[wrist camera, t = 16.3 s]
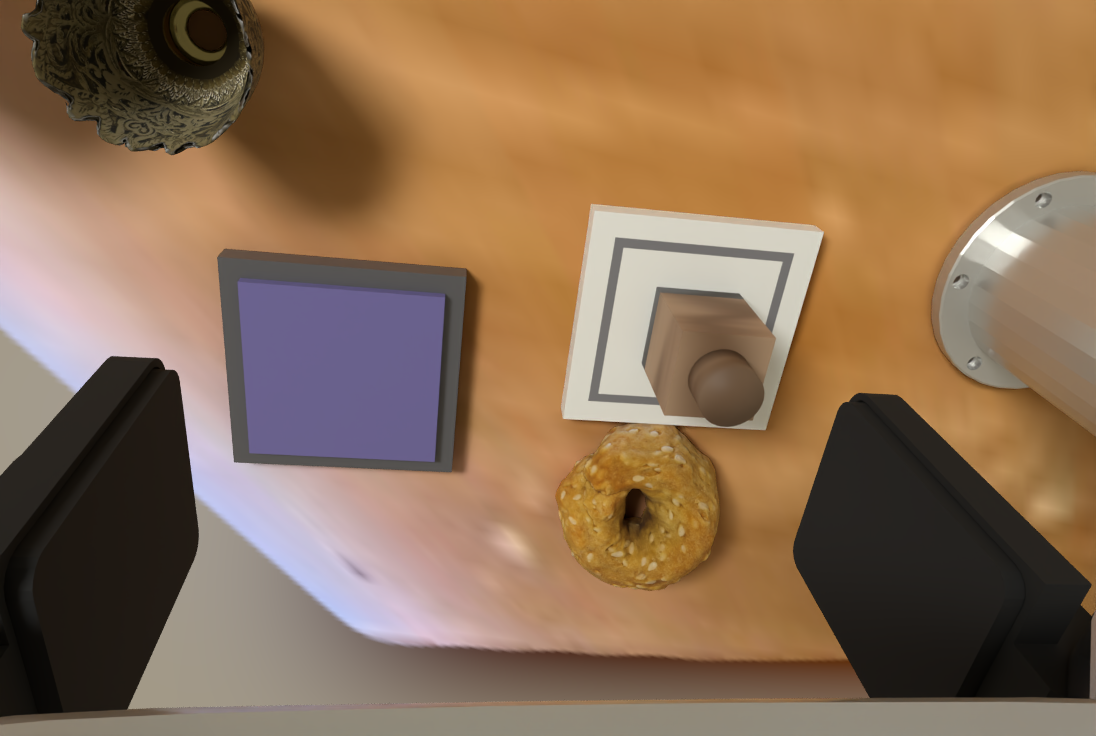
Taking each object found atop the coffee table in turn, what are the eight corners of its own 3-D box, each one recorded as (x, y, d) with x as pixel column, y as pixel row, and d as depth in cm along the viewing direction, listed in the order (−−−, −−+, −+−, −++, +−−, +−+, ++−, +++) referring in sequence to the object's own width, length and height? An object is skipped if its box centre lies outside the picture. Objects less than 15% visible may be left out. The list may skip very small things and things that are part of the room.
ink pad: (466, 268, 39) (466, 280, 38) (451, 460, 45) (451, 477, 43) (224, 248, 38) (214, 260, 36) (239, 450, 43) (231, 467, 42)
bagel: (731, 417, 45) (756, 464, 41) (690, 557, 50) (709, 611, 46) (567, 404, 44) (576, 451, 40) (542, 549, 49) (548, 604, 45)
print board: (814, 225, 40) (823, 232, 39) (758, 419, 45) (765, 430, 44) (591, 203, 38) (594, 210, 37) (560, 408, 44) (563, 418, 43)
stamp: (739, 293, 40) (792, 357, 34) (720, 368, 42) (766, 443, 36) (656, 286, 40) (694, 350, 33) (641, 363, 42) (673, 438, 35)
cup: (263, 147, 36) (212, 190, 29) (98, 70, 34) (-1, 97, 27) (319, -10, 33) (278, -4, 26) (143, -105, 31) (46, -126, 24)
